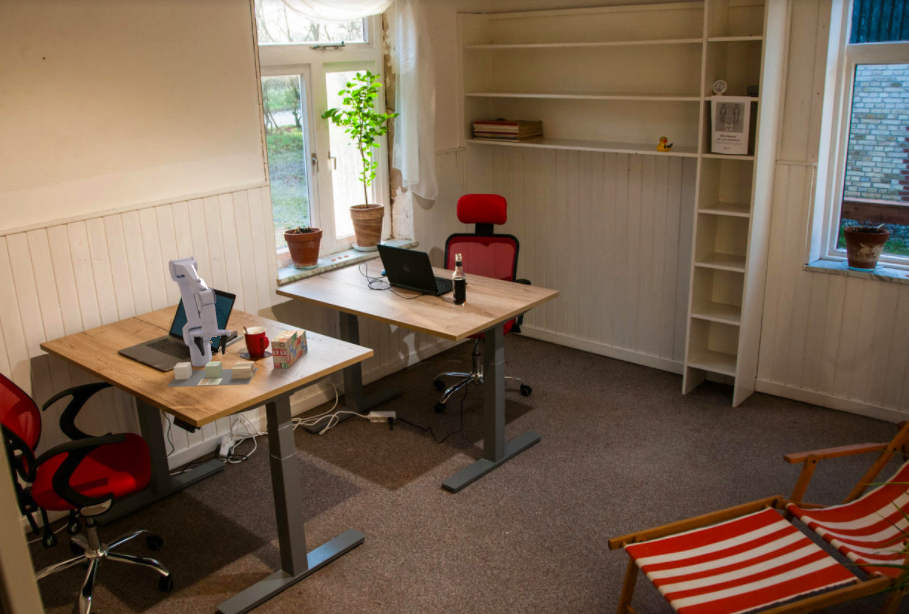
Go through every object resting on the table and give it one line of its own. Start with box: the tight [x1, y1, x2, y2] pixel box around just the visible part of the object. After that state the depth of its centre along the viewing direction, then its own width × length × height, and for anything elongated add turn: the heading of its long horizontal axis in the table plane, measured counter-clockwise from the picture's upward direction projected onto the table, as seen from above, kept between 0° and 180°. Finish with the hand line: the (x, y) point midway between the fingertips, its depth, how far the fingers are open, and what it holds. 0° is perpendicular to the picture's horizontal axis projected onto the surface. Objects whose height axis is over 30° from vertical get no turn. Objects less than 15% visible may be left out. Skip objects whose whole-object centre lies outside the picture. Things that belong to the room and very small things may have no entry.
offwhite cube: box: [173, 361, 193, 380], centre depth 302 cm, size 5×5×5 cm
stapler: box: [209, 328, 244, 353], centre depth 339 cm, size 18×5×10 cm
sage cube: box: [204, 360, 224, 378], centre depth 302 cm, size 5×5×5 cm
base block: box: [231, 361, 256, 379], centre depth 302 cm, size 7×7×4 cm
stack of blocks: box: [270, 329, 309, 369], centre depth 316 cm, size 21×6×12 cm, turn 169°
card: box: [196, 378, 222, 387], centre depth 297 cm, size 6×8×1 cm
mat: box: [166, 367, 259, 388], centre depth 301 cm, size 16×31×1 cm, turn 90°
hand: (213, 354), depth 299 cm, fingers open, 7 cm apart
